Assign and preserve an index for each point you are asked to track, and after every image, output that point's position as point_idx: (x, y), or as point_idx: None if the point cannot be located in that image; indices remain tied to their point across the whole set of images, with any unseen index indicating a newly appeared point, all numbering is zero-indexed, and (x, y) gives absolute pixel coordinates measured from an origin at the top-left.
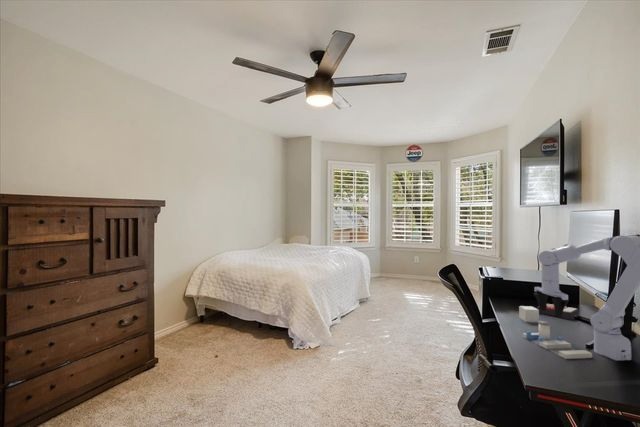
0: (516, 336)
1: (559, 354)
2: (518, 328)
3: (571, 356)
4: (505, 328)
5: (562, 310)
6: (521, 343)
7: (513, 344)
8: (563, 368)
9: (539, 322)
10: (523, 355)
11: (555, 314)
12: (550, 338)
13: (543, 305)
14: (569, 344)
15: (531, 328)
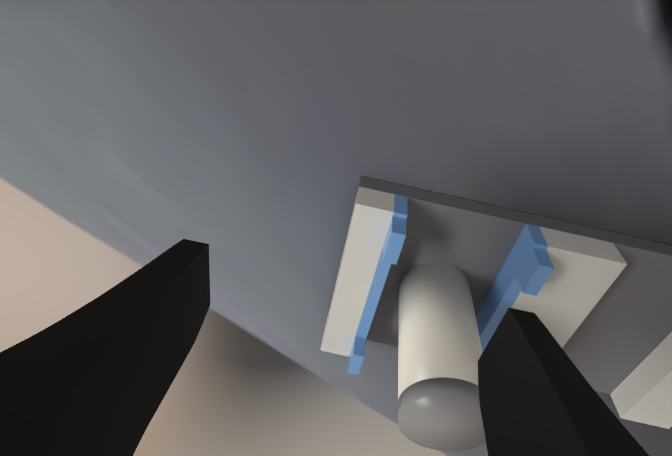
0: (273, 307)
1: (618, 401)
2: (114, 165)
3: None
4: (120, 250)
5: (589, 409)
6: (374, 365)
7: (371, 399)
8: (668, 444)
9: (425, 443)
10: (485, 452)
11: (482, 385)
12: (410, 199)
13: (165, 345)
14: (616, 272)
15: (107, 48)
